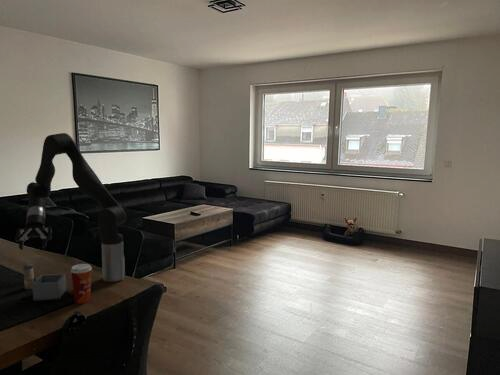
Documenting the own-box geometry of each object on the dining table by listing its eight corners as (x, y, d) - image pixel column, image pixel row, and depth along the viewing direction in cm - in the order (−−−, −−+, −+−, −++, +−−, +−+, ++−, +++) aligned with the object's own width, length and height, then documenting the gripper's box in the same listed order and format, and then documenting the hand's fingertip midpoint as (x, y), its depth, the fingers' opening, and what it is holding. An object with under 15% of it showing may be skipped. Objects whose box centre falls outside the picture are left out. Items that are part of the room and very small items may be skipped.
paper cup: (84, 305, 141) (83, 270, 139) (67, 303, 142) (65, 268, 140) (97, 297, 148) (96, 263, 146) (80, 295, 150) (79, 262, 148)
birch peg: (35, 285, 158) (34, 263, 157) (32, 289, 155) (31, 266, 153) (26, 286, 157) (25, 263, 156) (23, 289, 154) (21, 266, 153)
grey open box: (66, 289, 155) (65, 273, 154) (59, 299, 146) (58, 282, 145) (42, 290, 153) (41, 274, 152) (33, 300, 144) (32, 283, 143)
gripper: (16, 214, 168) (12, 245, 159) (51, 212, 173) (49, 243, 164) (20, 223, 174) (15, 253, 164) (53, 221, 179) (51, 251, 169)
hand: (32, 248), depth 164 cm, fingers open, 8 cm apart
